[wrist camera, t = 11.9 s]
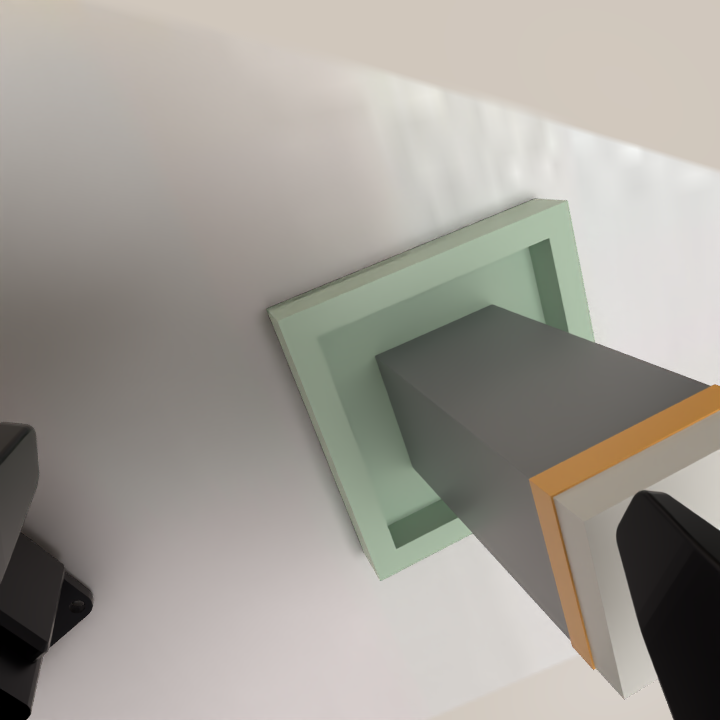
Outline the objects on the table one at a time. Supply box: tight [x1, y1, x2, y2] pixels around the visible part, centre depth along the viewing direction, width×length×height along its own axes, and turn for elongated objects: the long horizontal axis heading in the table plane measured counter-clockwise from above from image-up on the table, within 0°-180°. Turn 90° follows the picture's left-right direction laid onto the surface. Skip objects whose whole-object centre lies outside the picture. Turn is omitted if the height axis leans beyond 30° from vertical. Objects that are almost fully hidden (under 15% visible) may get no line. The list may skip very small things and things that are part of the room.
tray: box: [267, 199, 595, 581], centre depth 24 cm, size 11×11×2 cm
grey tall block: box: [375, 304, 720, 700], centre depth 19 cm, size 5×5×12 cm
